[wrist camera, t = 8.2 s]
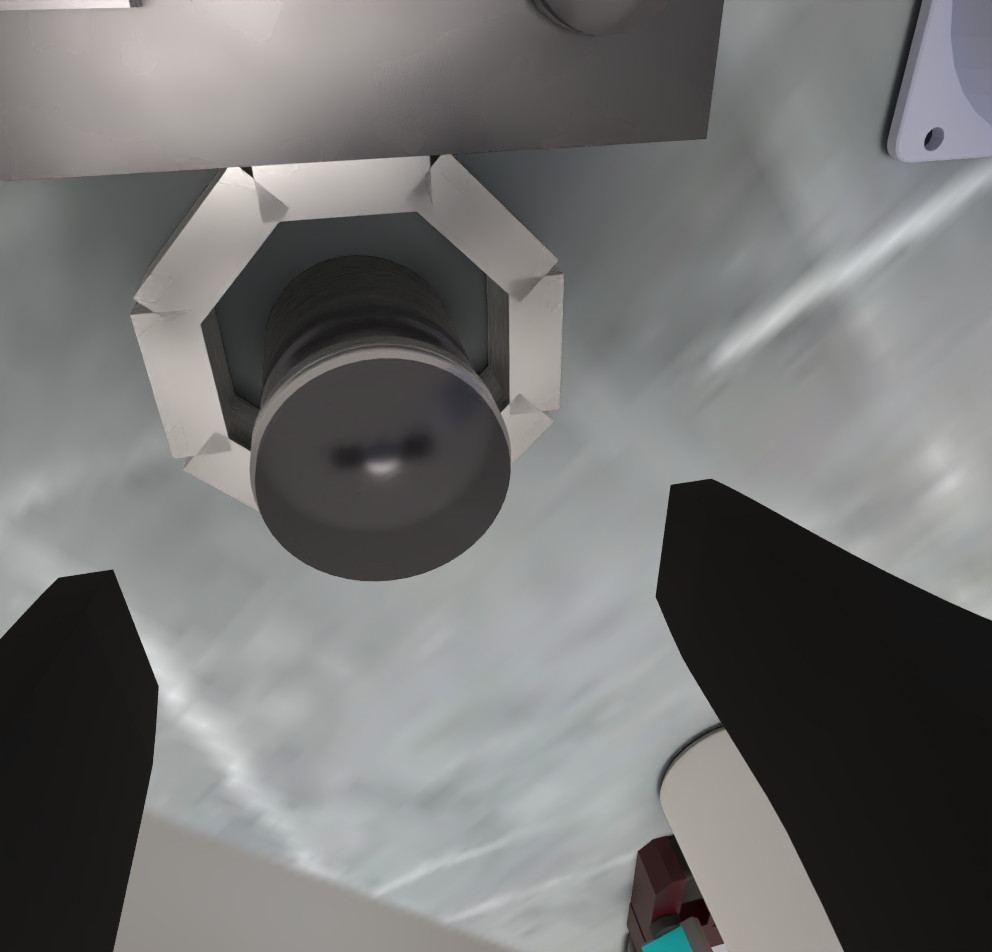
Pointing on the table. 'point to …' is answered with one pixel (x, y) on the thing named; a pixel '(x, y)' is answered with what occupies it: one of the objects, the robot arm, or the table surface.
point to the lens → (373, 426)
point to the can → (741, 853)
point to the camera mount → (339, 150)
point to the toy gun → (668, 904)
